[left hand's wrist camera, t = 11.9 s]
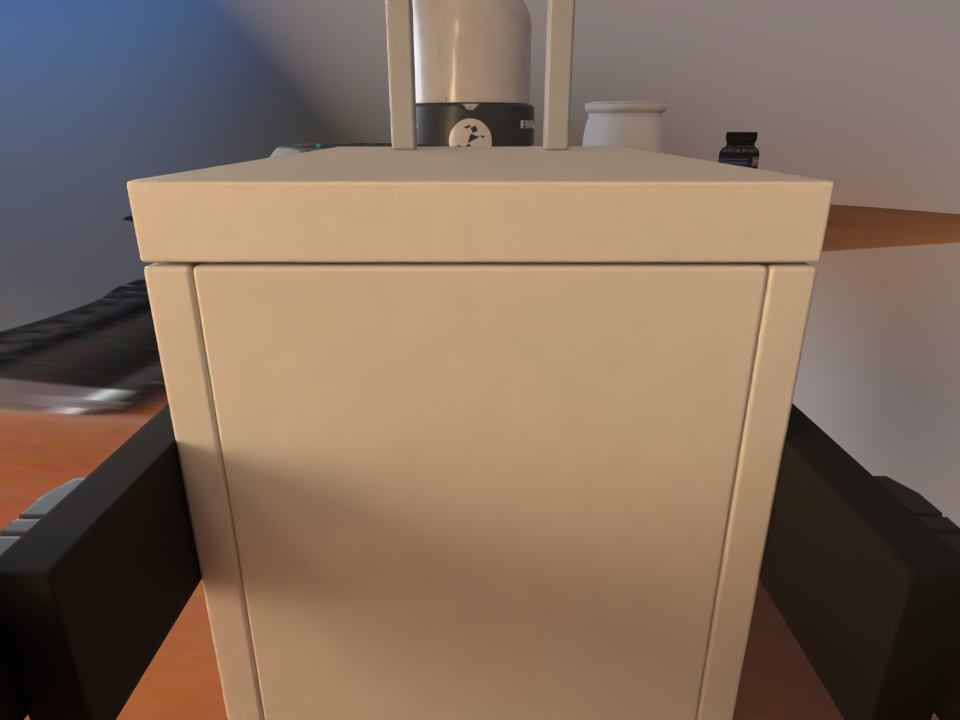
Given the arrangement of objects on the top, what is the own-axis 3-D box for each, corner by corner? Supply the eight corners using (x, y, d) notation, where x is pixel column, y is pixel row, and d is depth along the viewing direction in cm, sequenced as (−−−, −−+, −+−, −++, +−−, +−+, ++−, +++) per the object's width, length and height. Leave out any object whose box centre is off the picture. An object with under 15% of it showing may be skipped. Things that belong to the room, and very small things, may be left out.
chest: (358, 462, 25) (337, 183, 22) (601, 462, 25) (622, 183, 22) (239, 794, 13) (140, 266, 9) (720, 795, 13) (820, 266, 9)
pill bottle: (754, 204, 103) (765, 132, 99) (714, 203, 104) (723, 132, 100) (749, 200, 108) (759, 131, 105) (711, 199, 110) (720, 131, 106)
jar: (589, 224, 83) (596, 100, 78) (570, 213, 93) (576, 102, 87) (667, 223, 84) (680, 100, 79) (641, 212, 94) (651, 103, 88)
